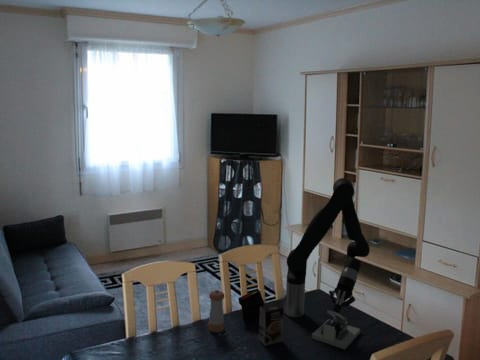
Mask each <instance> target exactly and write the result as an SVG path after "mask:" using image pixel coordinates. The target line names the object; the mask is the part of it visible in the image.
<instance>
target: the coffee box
mask: <svg viewBox="0 0 480 360" xmlns="http://www.w3.org/2000/svg"><path fill="white" fill-rule="evenodd" d="M284 314H285V313H284V306H282V305H280V304H278V302H275V303H271V304H264V306H260V317H259V320H258V322H259V323H258V340H259V341H260V343H262V344H263V346H265V347H266V346H269V345H273V344H277V343H282V342H283V330H284Z"/></svg>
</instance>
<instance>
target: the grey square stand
mask: <svg viewBox="0 0 480 360" xmlns="http://www.w3.org/2000/svg"><path fill="white" fill-rule="evenodd" d="M328 320H330V318H329V319H327V320H326V321H325V322H324V323H323V324H322V325H321V326H319V327H318V328H317V329H316V330H315V331H314V332H313V333H312V334H311V339H313V340H316V341H318V342H322V343H324V344H328V345H330V346H333V347H336V348H339V349H342V350H346V349H347V348H348V347H349V346H350V345H351V344H352V343H353V341H355V339H356V338H358V336H359V335H360V333H361V329H360V328H358V327H355V326H351V325H350V324H349V325H348V320H347V321H343V320H339V319H336V318H334V317H333V320H332V319H331V323H332V322H333V321H335V324H336V323H337V322H339V325H340V324H341V323H344V324H343V327H344V326H345V325H346V324H347V325H348V328H347V330H349V332H348V334H347V335H346V336H345V337H344V338H343V339H342V340H339V339H336V338H335V337H336V330H335V327H332V326H329V325H326V324H325V323H326V322H327V321H328ZM323 325H324V330H323V334H321V330H322V326H323Z"/></svg>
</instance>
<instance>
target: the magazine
mask: <svg viewBox="0 0 480 360" xmlns="http://www.w3.org/2000/svg"><path fill="white" fill-rule="evenodd" d="M237 299H238V304H239V305H240V306H241V311H242V320H243V321H247V322H248V321H259V317H260V306H265V301H264V299H263V296H262V293H261V290H260V289H258V288H257V289H255V290H252V291H251V292H249V293H246V294H244V295H243V296H240V297H238V298H237Z"/></svg>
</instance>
